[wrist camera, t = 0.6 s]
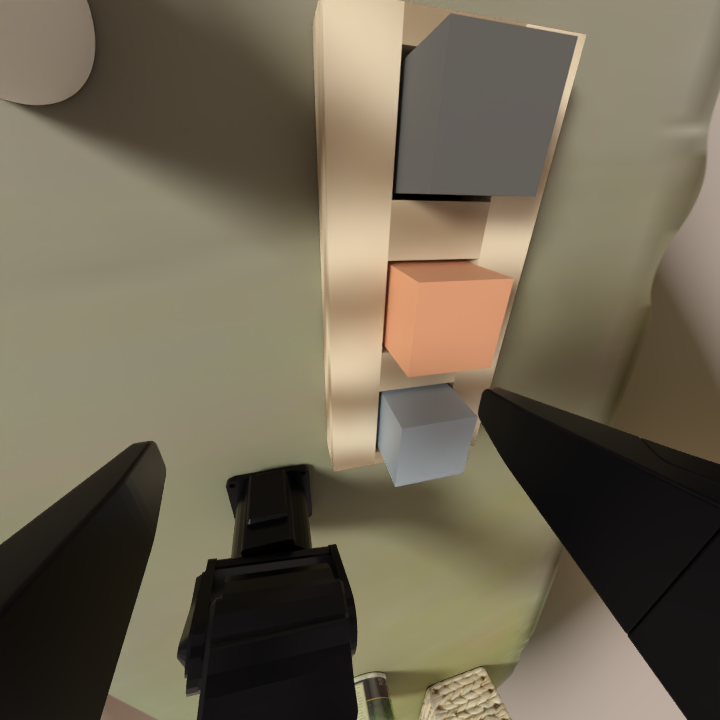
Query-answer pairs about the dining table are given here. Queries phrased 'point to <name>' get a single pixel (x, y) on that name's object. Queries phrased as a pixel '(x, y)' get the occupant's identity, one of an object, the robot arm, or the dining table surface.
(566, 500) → the robot arm
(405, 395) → the blue-grey cube
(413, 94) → the dark grey cube
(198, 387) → the dining table surface
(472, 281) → the orange cube
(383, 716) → the coffee can
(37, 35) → the mug
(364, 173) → the birch panel
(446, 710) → the storage basket
